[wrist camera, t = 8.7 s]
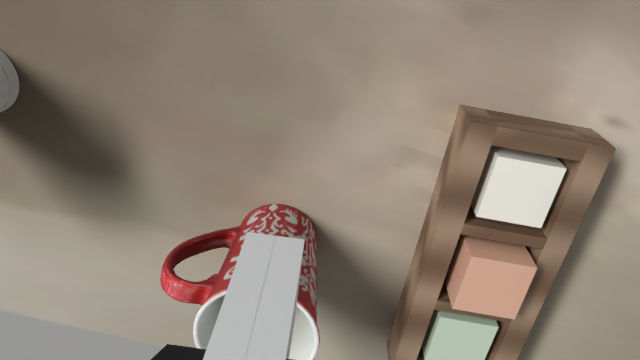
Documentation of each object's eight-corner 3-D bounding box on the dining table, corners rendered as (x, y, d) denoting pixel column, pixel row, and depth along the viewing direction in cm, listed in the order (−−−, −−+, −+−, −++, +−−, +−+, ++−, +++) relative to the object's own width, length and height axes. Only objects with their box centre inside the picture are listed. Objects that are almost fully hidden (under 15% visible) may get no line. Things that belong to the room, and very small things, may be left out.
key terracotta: (462, 232, 43) (471, 256, 40) (523, 243, 43) (537, 268, 40) (445, 282, 46) (452, 308, 42) (502, 292, 46) (514, 319, 42)
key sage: (434, 291, 48) (440, 316, 45) (488, 301, 49) (498, 327, 45) (419, 333, 51) (424, 360, 48) (471, 342, 51) (480, 370, 48)
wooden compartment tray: (460, 104, 41) (471, 121, 37) (591, 129, 41) (615, 148, 37) (387, 342, 52) (390, 373, 48) (490, 360, 52) (501, 392, 49)
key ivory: (486, 139, 41) (497, 156, 38) (549, 150, 42) (566, 168, 38) (466, 196, 44) (476, 216, 41) (527, 206, 44) (541, 228, 41)
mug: (344, 219, 46) (342, 319, 34) (302, 288, 50) (287, 402, 38) (216, 160, 44) (166, 245, 32) (183, 238, 48) (126, 339, 36)
